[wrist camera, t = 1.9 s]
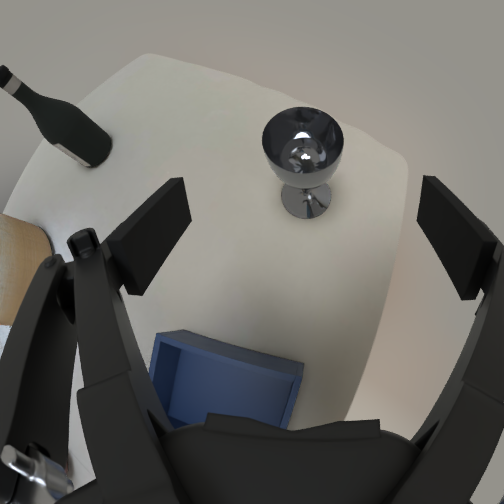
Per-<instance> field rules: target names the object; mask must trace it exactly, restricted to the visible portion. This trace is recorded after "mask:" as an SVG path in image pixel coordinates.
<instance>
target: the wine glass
mask: <svg viewBox="0 0 504 504" xmlns="http://www.w3.org/2000/svg"><path fill="white" fill-rule="evenodd" d="M262 145H263V149H264V153H265V156H266V159H267V161H268V163H269V165H270V167H271V169H272V170H273V172H274V173H275V174H276V176H277V177H278V178H279V179H280V180H281V181H282V182H283V183H285V184H284V186H283V189H282V194H281V197H282V202H283V205H284V207H285V208H286V210H287V211H288V212H289V213H291V214H292V215H294V216H296V217H298V218H303V219H311V218H315V217H317V216H319V215H321V214H322V213H323V212H325V211H326V209H327V208H328V206H329V204H330V201H331V191H330V188H329V186H328V184H327V183H326V182H327V181H328V180H329V179H330V178H331V177H332V176H333V174H334V173H335V171H336V170H337V168H338V165H339V163H340V160H341V156H342V152H343V146H344V138H343V133H342V130H341V128H340V126H339V125H338V123H337V122H336V121H335V120H334V119H333V118H332V117H331V116H330V115H328V114H327V113H325V112H323V111H321V110H318V109H315V108H310V107H295V108H290V109H287V110H284V111H282V112H280V113H278V114H277V115H275V116H274V117H273V118H272V119H271V120H270V121H269V122H268V123H267V125H266V127H265V129H264V131H263V136H262Z"/></svg>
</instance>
